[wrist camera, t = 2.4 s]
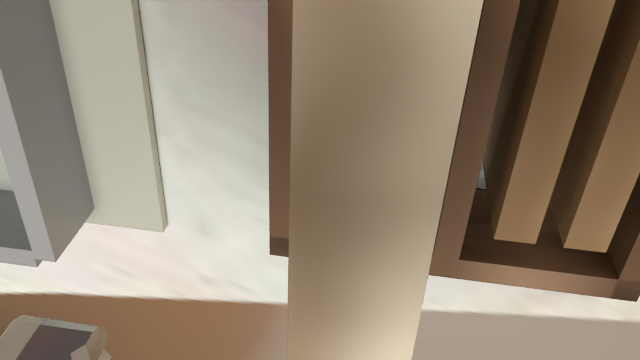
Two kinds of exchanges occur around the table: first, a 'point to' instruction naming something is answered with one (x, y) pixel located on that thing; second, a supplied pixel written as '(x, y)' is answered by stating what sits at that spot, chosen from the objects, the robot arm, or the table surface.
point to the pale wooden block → (370, 167)
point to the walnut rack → (465, 183)
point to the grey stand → (73, 125)
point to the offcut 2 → (603, 140)
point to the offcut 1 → (539, 108)
